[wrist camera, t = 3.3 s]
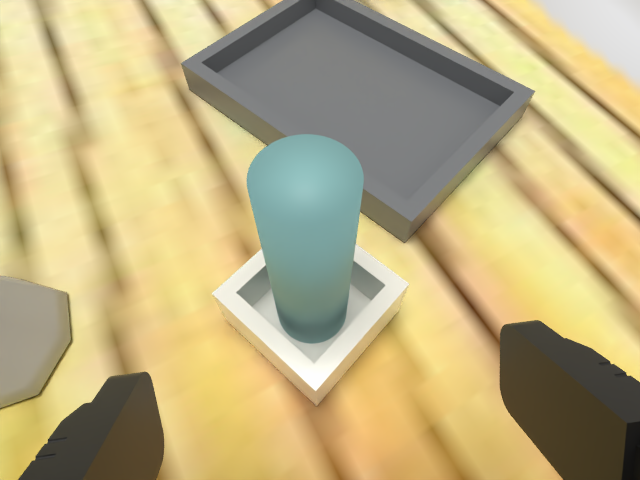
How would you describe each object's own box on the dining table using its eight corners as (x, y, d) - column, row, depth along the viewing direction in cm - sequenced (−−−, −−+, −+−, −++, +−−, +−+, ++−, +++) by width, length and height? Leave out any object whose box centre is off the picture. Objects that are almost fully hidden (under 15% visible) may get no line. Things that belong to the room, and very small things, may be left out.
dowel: (263, 312, 23) (222, 180, 13) (310, 266, 24) (302, 117, 15) (314, 358, 22) (308, 248, 12) (360, 307, 23) (387, 173, 13)
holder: (225, 319, 23) (211, 293, 20) (309, 241, 26) (307, 207, 23) (316, 406, 21) (315, 391, 18) (398, 311, 24) (409, 284, 21)
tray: (189, 89, 33) (180, 63, 31) (315, 7, 38) (314, -20, 36) (404, 243, 26) (411, 221, 24) (521, 117, 31) (535, 91, 29)
